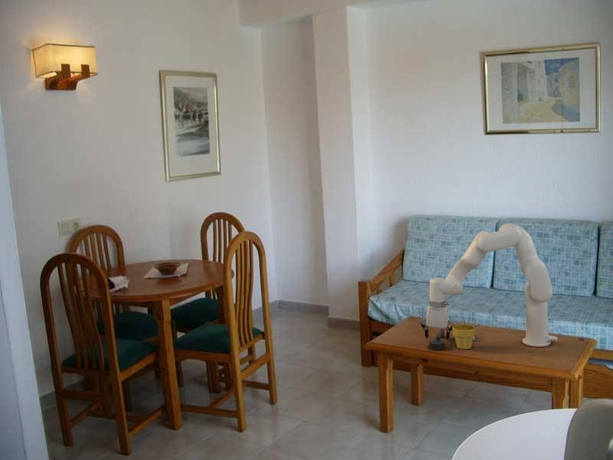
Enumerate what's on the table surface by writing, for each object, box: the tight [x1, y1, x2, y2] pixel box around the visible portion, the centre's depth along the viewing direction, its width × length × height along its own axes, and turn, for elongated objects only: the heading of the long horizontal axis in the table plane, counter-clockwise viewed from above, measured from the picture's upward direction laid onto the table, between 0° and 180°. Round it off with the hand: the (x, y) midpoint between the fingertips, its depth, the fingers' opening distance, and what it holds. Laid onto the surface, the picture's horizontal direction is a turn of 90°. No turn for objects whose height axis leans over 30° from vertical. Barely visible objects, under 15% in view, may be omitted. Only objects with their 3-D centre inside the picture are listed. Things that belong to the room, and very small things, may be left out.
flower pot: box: [452, 323, 476, 350], centre depth 311 cm, size 10×10×10 cm
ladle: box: [428, 328, 445, 351], centre depth 319 cm, size 21×7×4 cm, turn 160°
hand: (437, 338), depth 318 cm, fingers open, 9 cm apart
